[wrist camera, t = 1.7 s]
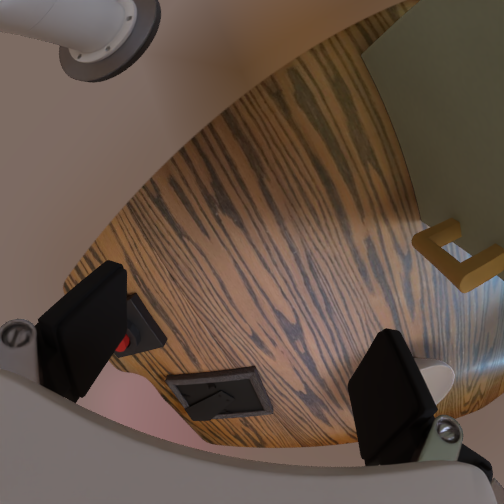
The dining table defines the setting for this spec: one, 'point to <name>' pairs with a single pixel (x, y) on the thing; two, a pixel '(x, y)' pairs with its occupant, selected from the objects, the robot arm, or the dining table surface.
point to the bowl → (436, 377)
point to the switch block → (141, 329)
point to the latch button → (123, 344)
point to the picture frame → (221, 394)
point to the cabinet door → (450, 127)
